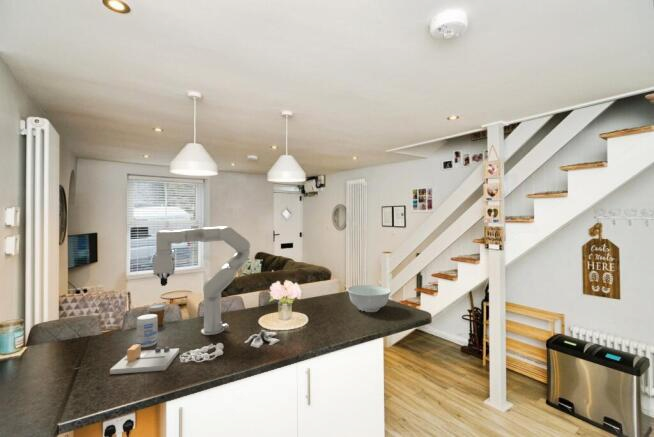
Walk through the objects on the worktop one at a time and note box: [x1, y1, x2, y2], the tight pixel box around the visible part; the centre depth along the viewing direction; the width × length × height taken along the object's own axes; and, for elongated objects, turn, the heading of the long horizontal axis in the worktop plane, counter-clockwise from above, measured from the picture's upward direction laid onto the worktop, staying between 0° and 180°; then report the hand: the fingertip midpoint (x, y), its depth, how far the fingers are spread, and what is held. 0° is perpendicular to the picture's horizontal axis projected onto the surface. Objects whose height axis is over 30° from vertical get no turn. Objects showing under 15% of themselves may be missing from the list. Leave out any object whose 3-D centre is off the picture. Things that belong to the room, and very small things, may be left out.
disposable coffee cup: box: [147, 303, 166, 327], centre depth 188 cm, size 10×10×12 cm
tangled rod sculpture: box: [179, 342, 224, 364], centre depth 143 cm, size 19×14×4 cm
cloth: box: [244, 329, 280, 349], centre depth 163 cm, size 22×19×6 cm
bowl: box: [346, 284, 392, 313], centre depth 220 cm, size 32×32×15 cm
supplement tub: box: [135, 313, 159, 348], centre depth 158 cm, size 10×10×15 cm
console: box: [109, 346, 180, 375], centre depth 138 cm, size 22×18×4 cm
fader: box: [126, 344, 142, 361], centre depth 137 cm, size 3×6×5 cm, turn 9°
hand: (163, 285), depth 168 cm, fingers closed
